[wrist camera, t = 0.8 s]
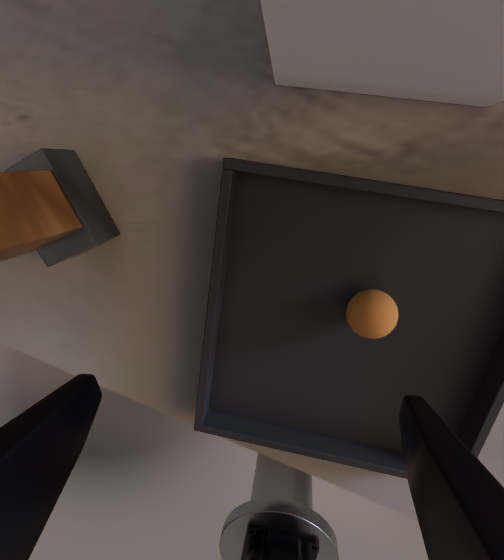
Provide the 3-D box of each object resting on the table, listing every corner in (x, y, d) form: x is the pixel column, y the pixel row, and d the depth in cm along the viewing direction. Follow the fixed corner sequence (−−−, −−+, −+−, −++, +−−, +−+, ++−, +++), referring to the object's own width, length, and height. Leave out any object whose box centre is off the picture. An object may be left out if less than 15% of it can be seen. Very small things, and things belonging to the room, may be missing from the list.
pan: (448, 464, 26) (461, 491, 24) (202, 409, 28) (193, 430, 26) (562, 209, 20) (594, 215, 17) (231, 157, 21) (223, 157, 19)
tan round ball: (384, 329, 23) (395, 352, 20) (339, 320, 23) (343, 342, 20) (397, 287, 22) (411, 305, 19) (349, 278, 22) (356, 295, 19)
